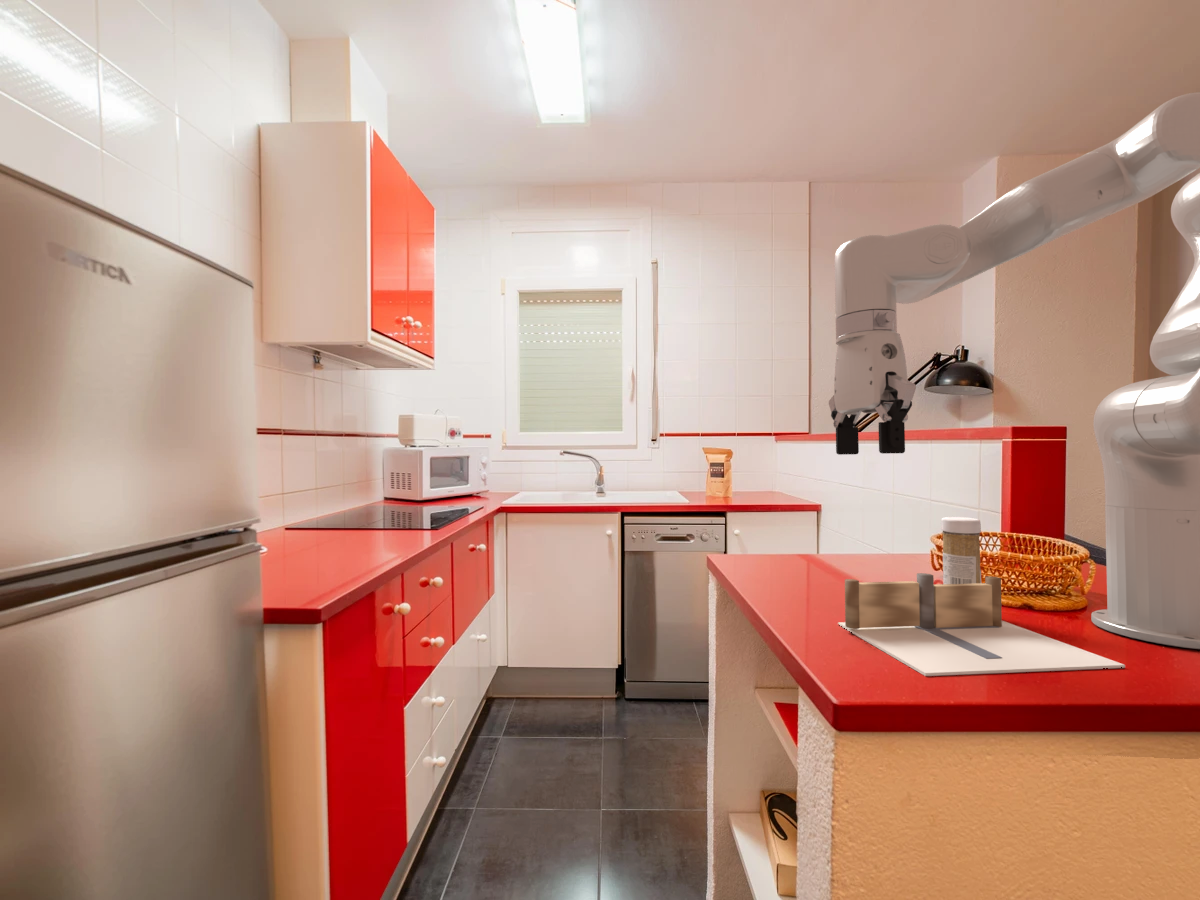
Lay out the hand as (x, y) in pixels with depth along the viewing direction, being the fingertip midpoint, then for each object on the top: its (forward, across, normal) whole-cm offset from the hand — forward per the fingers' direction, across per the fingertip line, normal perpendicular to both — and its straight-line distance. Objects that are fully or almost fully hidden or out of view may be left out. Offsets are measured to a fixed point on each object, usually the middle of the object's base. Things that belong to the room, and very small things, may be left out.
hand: (868, 453), depth 70 cm
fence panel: (+22, -5, +2) cm, 23 cm away
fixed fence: (+23, -5, -8) cm, 25 cm away
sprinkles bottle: (+23, 0, -14) cm, 27 cm away
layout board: (+23, -10, -5) cm, 25 cm away
